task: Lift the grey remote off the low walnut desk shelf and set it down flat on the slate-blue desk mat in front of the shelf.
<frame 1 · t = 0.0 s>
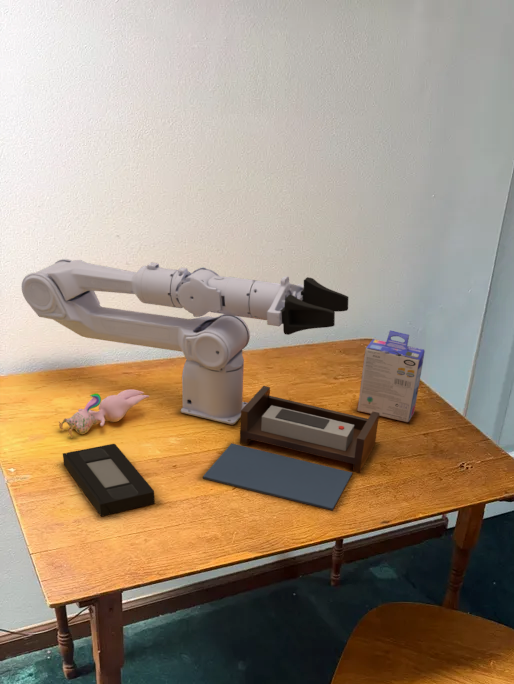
hand: (341, 311, 119), 22 cm above the table, tool horizontal, fingers open, 7 cm apart
ink cartridge box: (386, 412, 143), on the table
desk mat: (279, 476, 120), on the table
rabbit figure: (107, 423, 125), on the table
remote: (307, 435, 126), point 2 cm above the table, touching shelf
vhs tape: (108, 485, 111), on the table
shelf: (308, 444, 129), on the table
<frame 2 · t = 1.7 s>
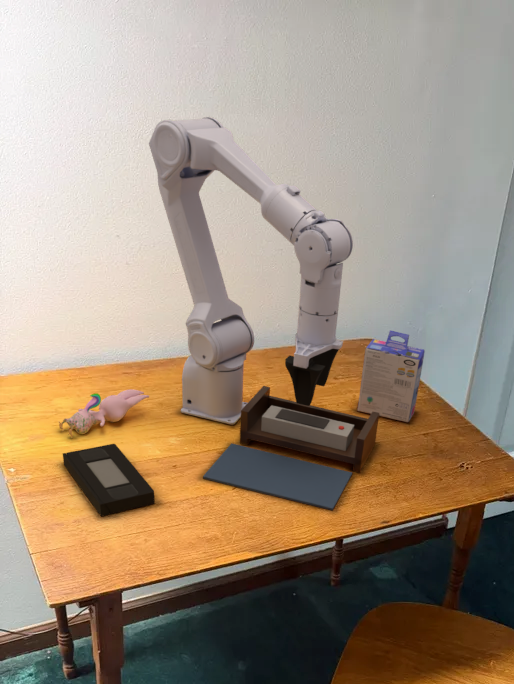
hand: (311, 393, 122), 10 cm above the table, tool pointing down, fingers open, 7 cm apart
nothing on the table moved.
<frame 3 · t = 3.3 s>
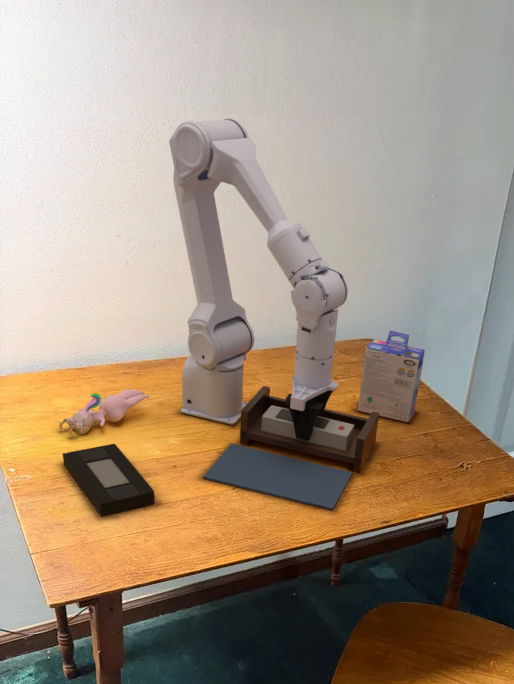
hand: (307, 432, 126), 3 cm above the table, tool pointing down, fingers closed on remote, 4 cm apart
remote: (307, 434, 126), point 2 cm above the table, touching gripper, shelf
everything else where it was.
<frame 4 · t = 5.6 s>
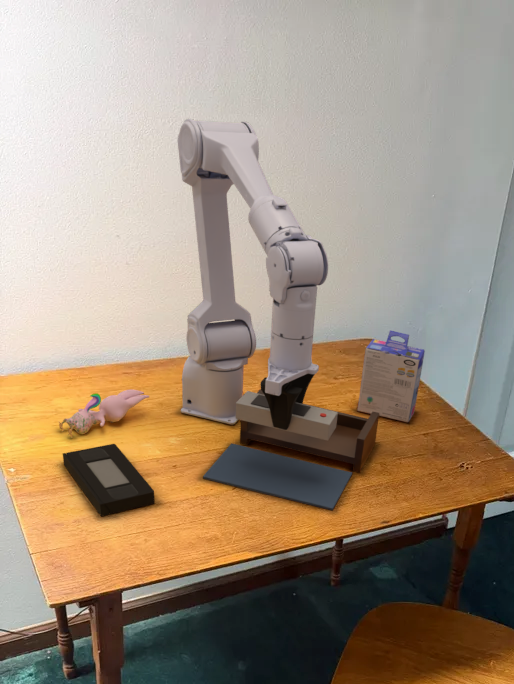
hand: (286, 420, 115), 9 cm above the table, tool pointing down, fingers closed on remote, 4 cm apart
remote: (286, 423, 115), point 9 cm above the table, touching gripper
everything else where it was.
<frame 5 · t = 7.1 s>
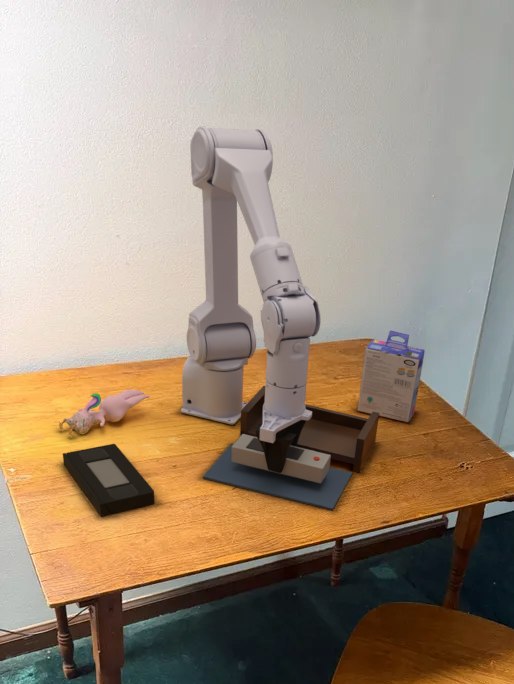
hand: (280, 462, 118), 2 cm above the table, tool pointing down, fingers closed on remote, 4 cm apart
remote: (280, 465, 119), point 2 cm above the table, touching gripper
everything else where it was.
when the fingers open (1 cm above the table, at t = 8.1 s): remote stays where it is, resting on desk mat.
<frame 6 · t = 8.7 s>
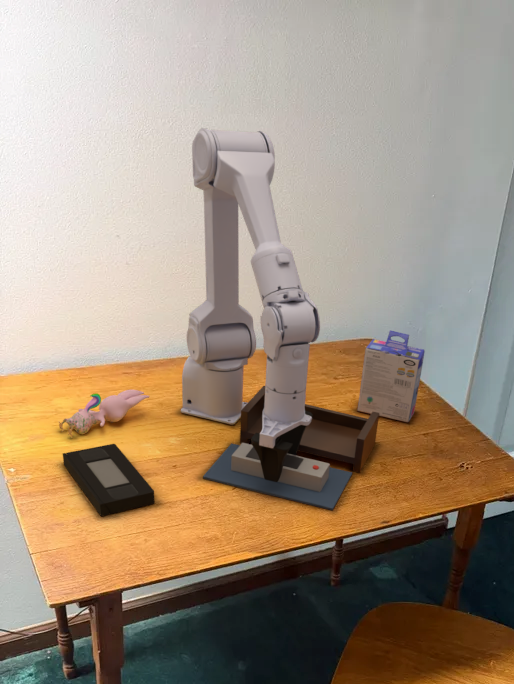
hand: (280, 467, 119), 2 cm above the table, tool pointing down, fingers open, 7 cm apart
remote: (280, 474, 119), resting on desk mat
everything else where it was.
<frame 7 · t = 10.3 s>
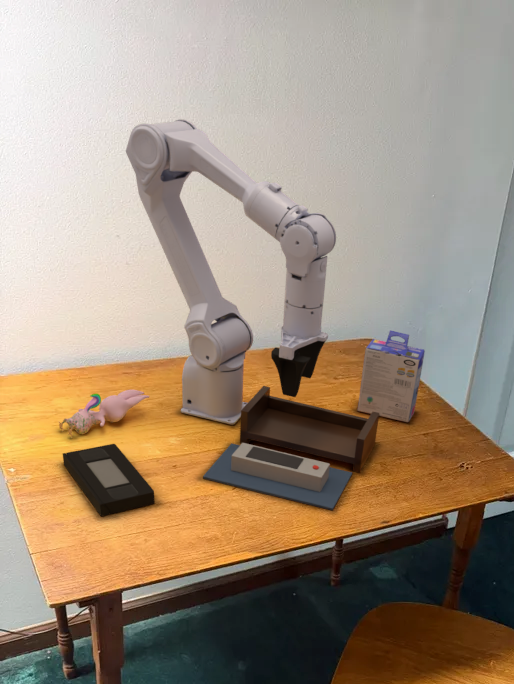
hand: (297, 385, 125), 9 cm above the table, tool pointing down, fingers open, 7 cm apart
nothing on the table moved.
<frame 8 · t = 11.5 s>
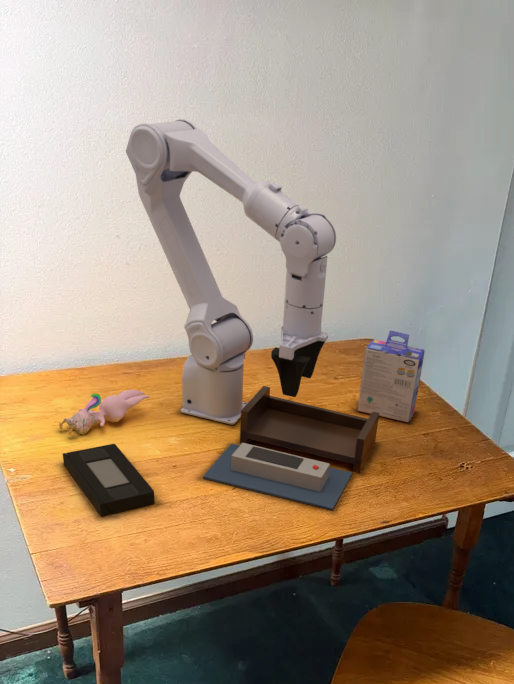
hand: (297, 385, 125), 9 cm above the table, tool pointing down, fingers open, 7 cm apart
nothing on the table moved.
at the end: remote touching desk mat; remote inside the target area on the desk mat (0.1 cm from its centre), point 0.4 cm above the desk mat's base; the gripper is holding nothing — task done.
